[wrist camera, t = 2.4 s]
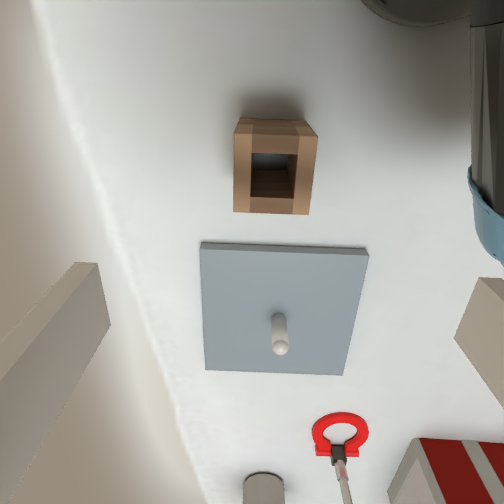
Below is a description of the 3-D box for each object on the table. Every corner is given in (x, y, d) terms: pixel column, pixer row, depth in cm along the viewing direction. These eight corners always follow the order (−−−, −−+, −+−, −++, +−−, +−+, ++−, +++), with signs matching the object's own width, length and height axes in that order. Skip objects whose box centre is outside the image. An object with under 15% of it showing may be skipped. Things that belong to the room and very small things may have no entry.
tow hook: (314, 408, 51) (309, 449, 55) (330, 503, 40) (322, 545, 44) (370, 410, 51) (361, 450, 55) (403, 505, 40) (389, 547, 44)
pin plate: (201, 242, 38) (190, 276, 32) (365, 248, 38) (385, 284, 32) (206, 361, 46) (198, 405, 40) (340, 366, 46) (352, 412, 40)
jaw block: (239, 118, 31) (233, 133, 24) (305, 120, 31) (318, 136, 24) (239, 181, 34) (233, 212, 27) (299, 184, 34) (308, 215, 27)
